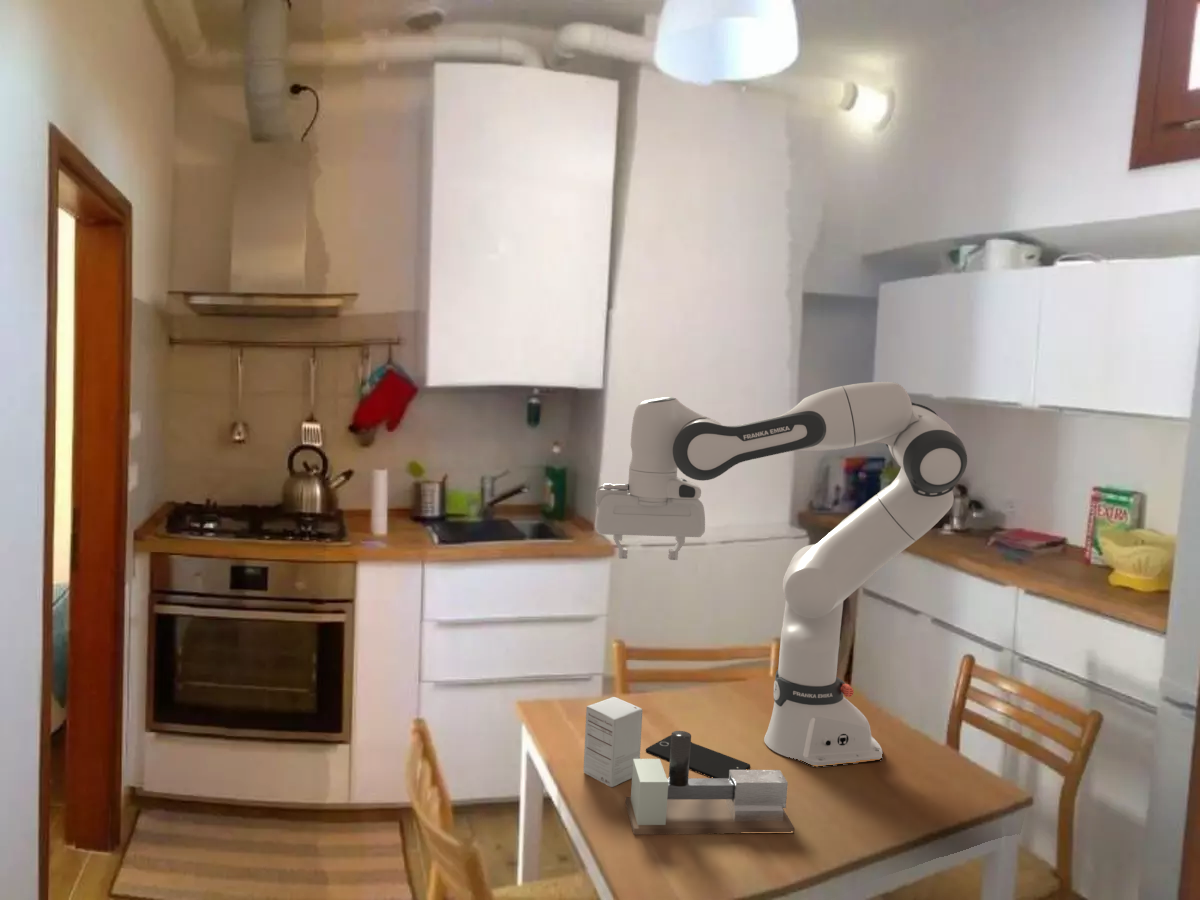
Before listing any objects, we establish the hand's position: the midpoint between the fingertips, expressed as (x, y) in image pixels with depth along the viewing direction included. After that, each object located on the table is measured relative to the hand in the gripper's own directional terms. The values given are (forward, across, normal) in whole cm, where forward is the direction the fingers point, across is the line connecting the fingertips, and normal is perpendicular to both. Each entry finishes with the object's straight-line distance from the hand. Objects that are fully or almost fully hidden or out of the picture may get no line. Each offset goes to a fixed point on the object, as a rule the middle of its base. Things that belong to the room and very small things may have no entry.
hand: (647, 558), depth 171 cm
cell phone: (+38, +11, -4) cm, 39 cm away
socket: (+36, -2, -25) cm, 44 cm away
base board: (+37, +8, -25) cm, 45 cm away
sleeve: (+36, +16, -25) cm, 47 cm away
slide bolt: (+33, +5, -25) cm, 42 cm away
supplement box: (+37, -6, -10) cm, 39 cm away
